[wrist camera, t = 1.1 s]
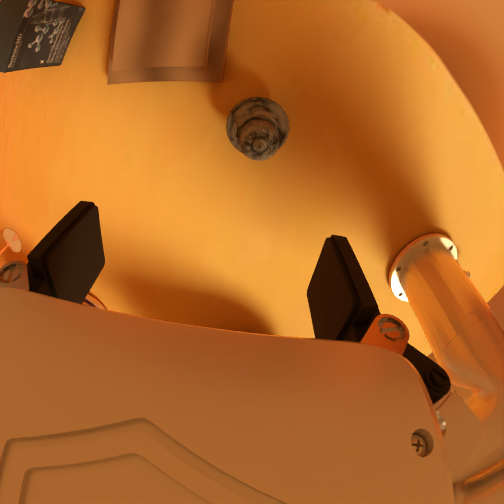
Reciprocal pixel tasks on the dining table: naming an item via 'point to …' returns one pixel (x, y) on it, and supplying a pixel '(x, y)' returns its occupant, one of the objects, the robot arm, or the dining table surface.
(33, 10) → the box
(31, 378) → the robot arm
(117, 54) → the plinth
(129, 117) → the dining table surface
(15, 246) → the wineglass
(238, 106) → the salt shaker
